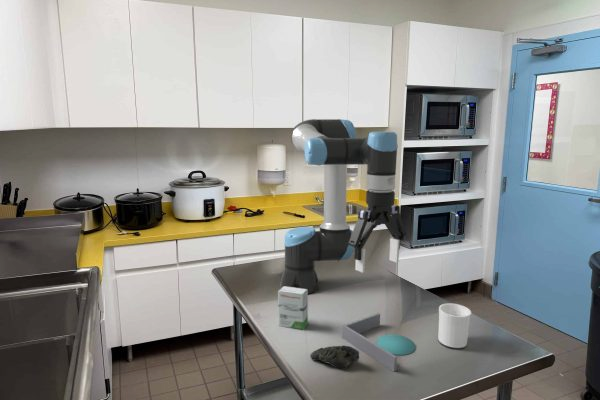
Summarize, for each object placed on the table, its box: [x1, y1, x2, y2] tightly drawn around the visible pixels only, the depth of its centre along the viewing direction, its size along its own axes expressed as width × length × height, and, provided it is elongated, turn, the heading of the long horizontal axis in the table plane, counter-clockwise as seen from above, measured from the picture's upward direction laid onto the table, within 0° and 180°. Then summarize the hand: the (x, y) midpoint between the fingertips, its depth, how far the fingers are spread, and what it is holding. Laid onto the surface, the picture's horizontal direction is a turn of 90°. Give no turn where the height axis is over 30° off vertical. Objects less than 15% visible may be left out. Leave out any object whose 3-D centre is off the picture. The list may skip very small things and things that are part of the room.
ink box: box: [277, 286, 309, 330], centre depth 132 cm, size 9×5×12 cm, turn 71°
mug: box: [437, 302, 472, 350], centre depth 123 cm, size 11×9×10 cm
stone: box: [310, 345, 360, 370], centre depth 113 cm, size 7×13×5 cm, turn 71°
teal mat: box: [376, 333, 416, 356], centre depth 122 cm, size 11×11×1 cm
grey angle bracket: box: [341, 312, 398, 372], centre depth 121 cm, size 21×15×4 cm
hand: (377, 266), depth 115 cm, fingers open, 13 cm apart
